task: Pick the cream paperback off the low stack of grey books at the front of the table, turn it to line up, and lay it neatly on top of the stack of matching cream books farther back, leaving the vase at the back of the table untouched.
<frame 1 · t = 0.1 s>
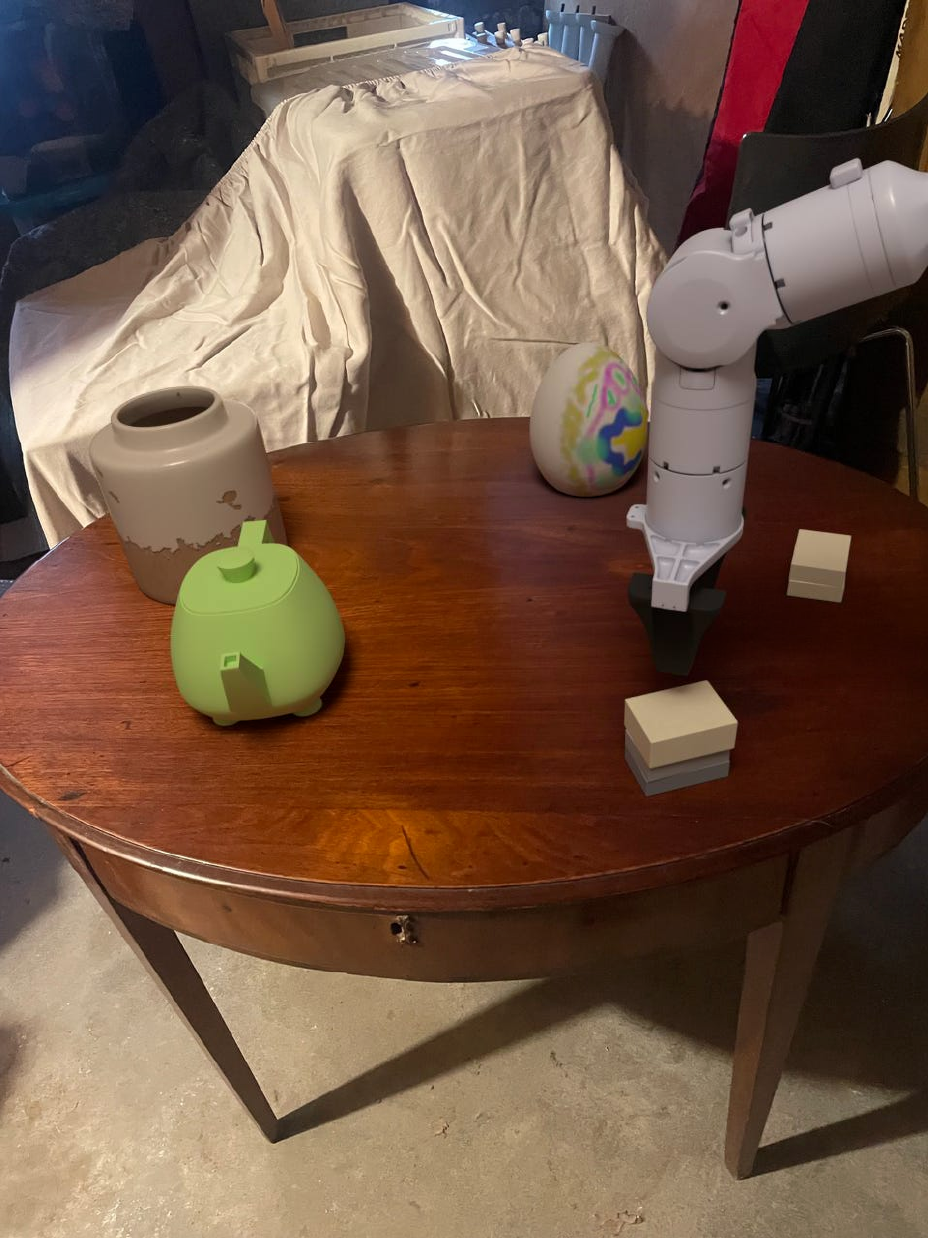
hand: (683, 635, 60), 8 cm above the table, tool pointing down, fingers open, 7 cm apart
cream books: (816, 580, 77), on the table
grey books: (675, 767, 61), on the table
decorative egg: (588, 481, 96), on the table
vase: (214, 564, 88), on the table
cream book: (678, 736, 59), point 3 cm above the table, touching grey books
teapot: (271, 687, 72), on the table
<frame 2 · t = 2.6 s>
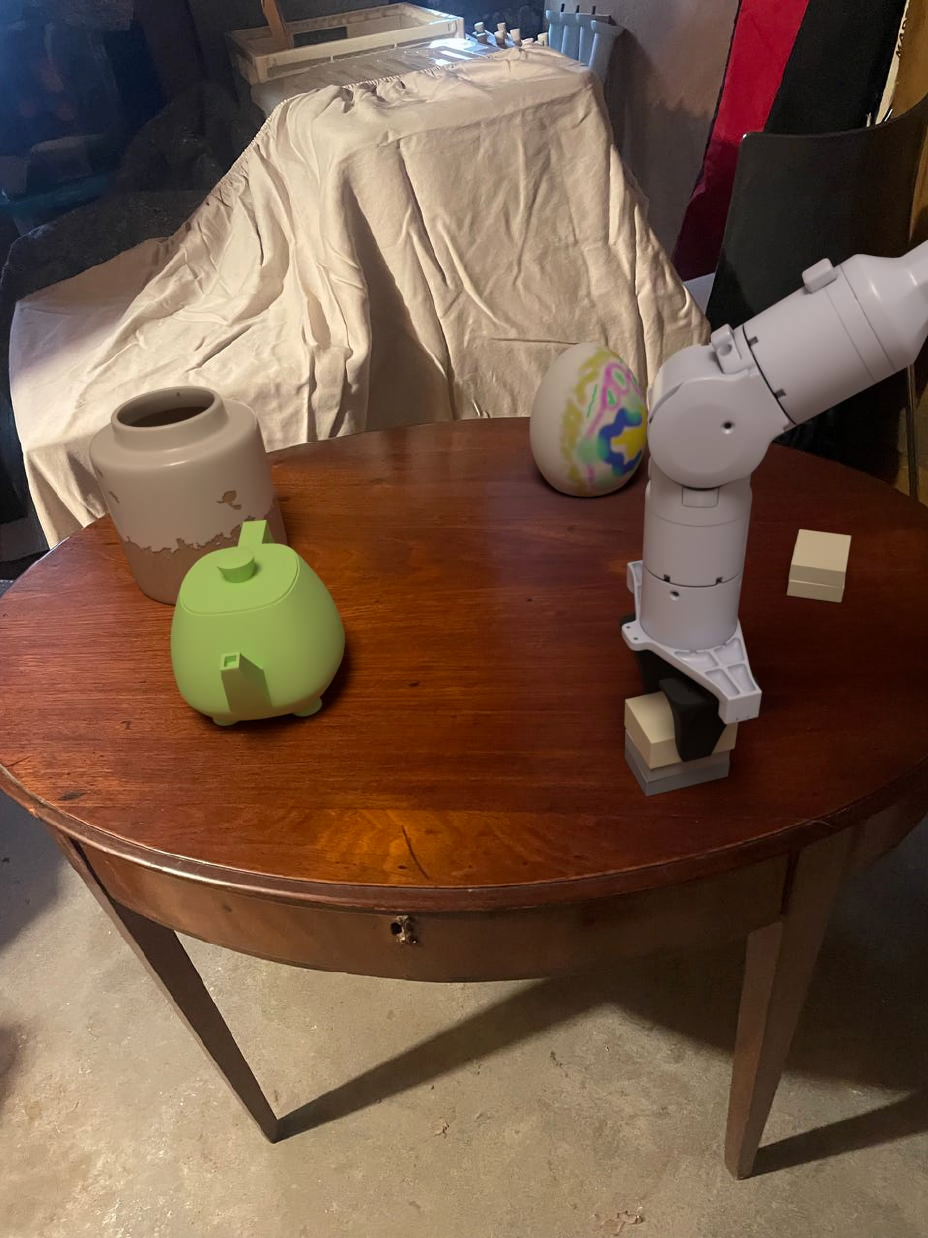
hand: (678, 729, 59), 4 cm above the table, tool pointing down, fingers closed on cream book, 4 cm apart
cream book: (678, 736, 59), point 3 cm above the table, touching grey books, gripper
everything else where it was.
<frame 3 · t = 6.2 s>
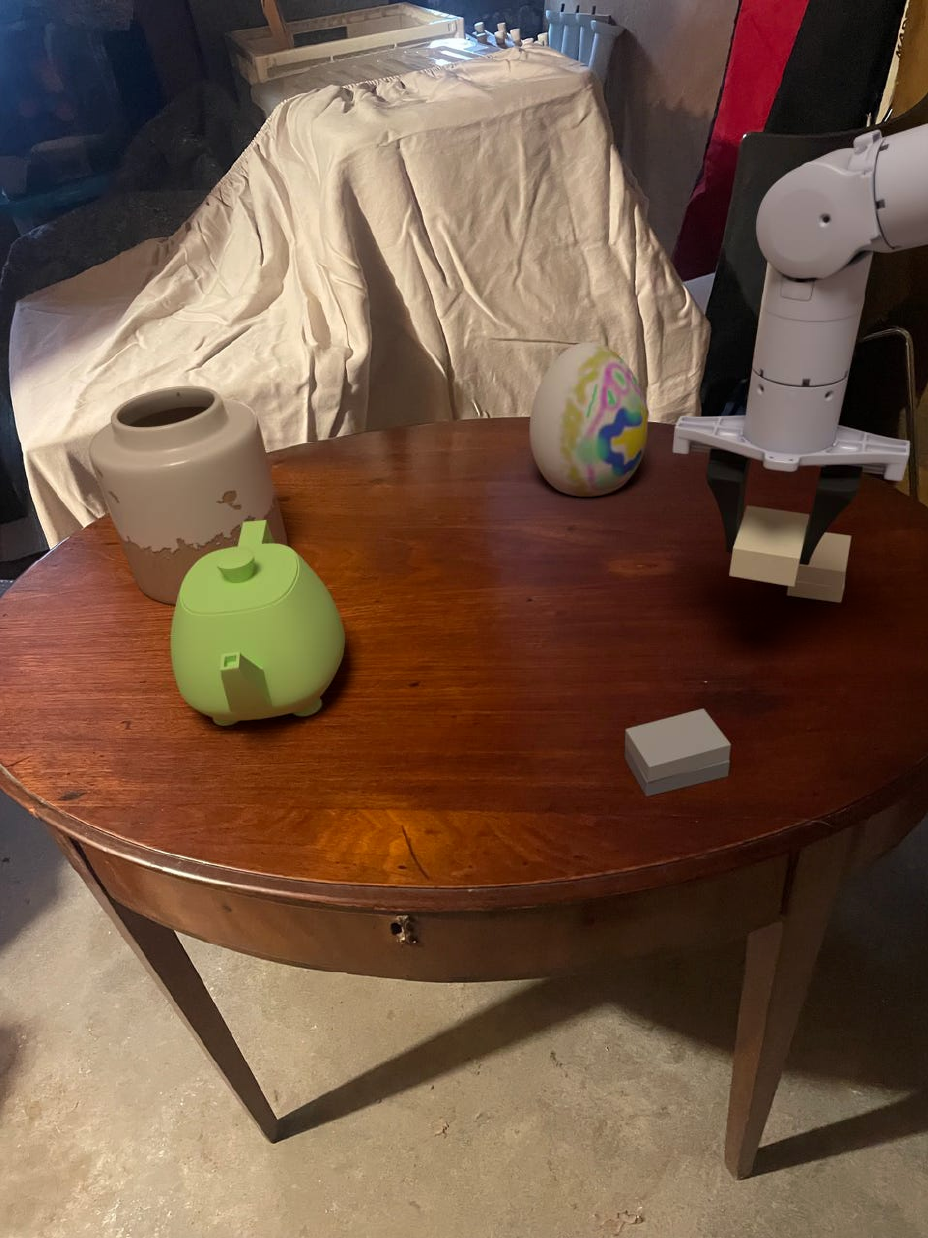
hand: (767, 551, 63), 10 cm above the table, tool pointing down, fingers closed on cream book, 4 cm apart
cream book: (767, 558, 63), point 10 cm above the table, touching gripper
everything else where it was.
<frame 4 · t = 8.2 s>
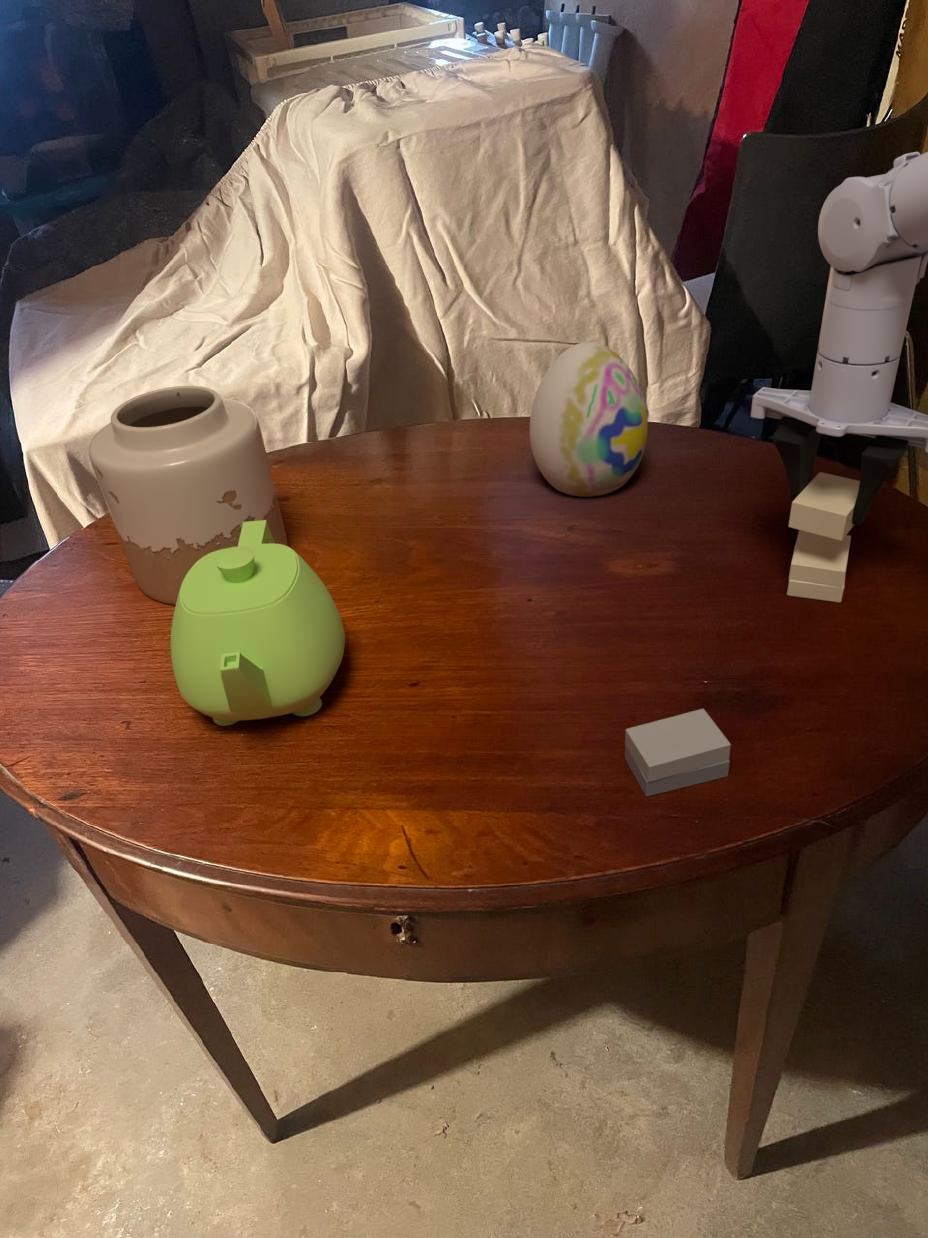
hand: (828, 511, 73), 7 cm above the table, tool pointing down, fingers closed on cream book, 4 cm apart
cream book: (827, 517, 73), point 6 cm above the table, touching gripper
everything else where it was.
when the fingers open (4 cm above the table, at t = 9.6 s): cream book stays where it is, resting on cream books.
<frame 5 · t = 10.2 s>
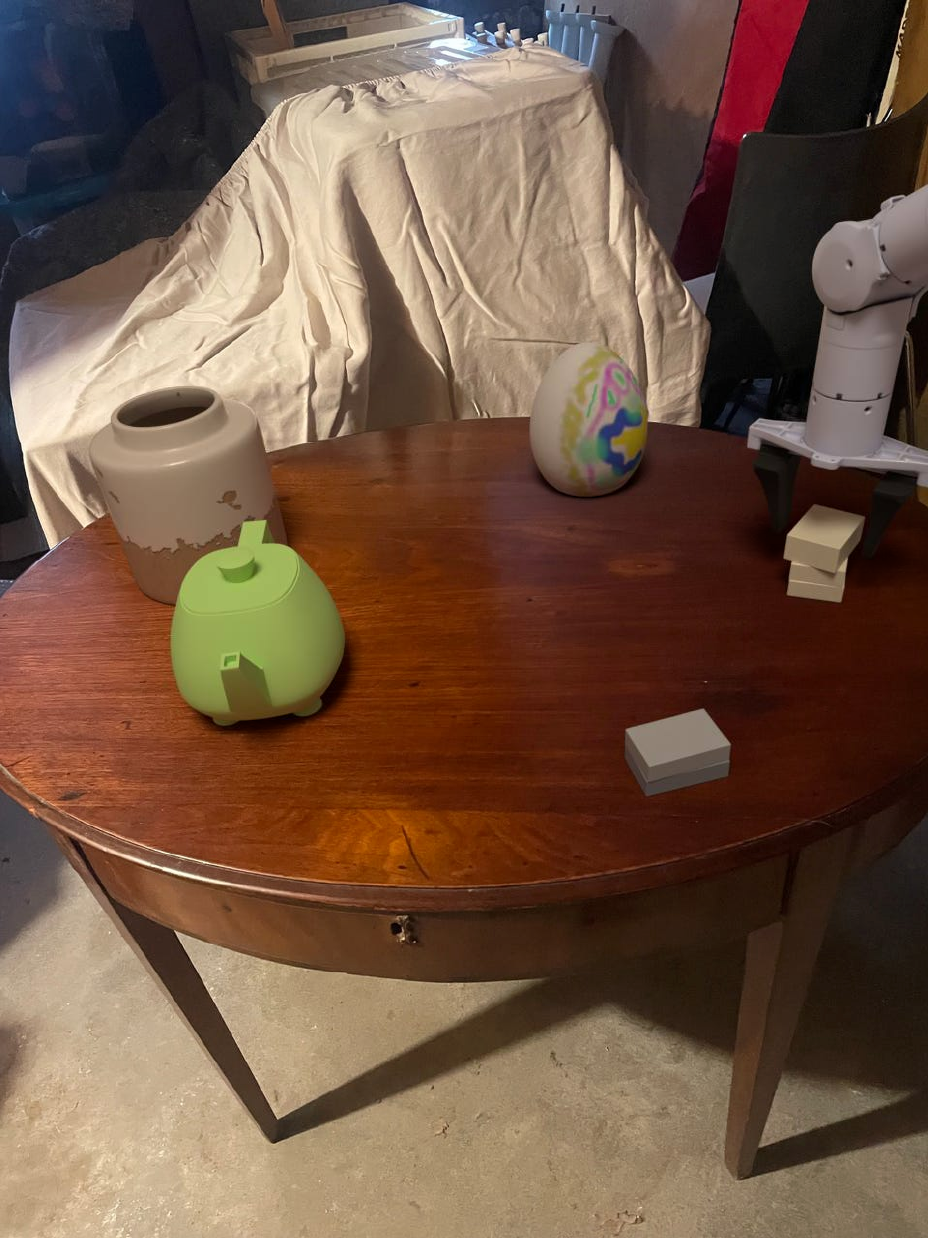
hand: (823, 539, 75), 4 cm above the table, tool pointing down, fingers open, 7 cm apart
cream book: (822, 549, 75), point 3 cm above the table, touching cream books
everything else where it was.
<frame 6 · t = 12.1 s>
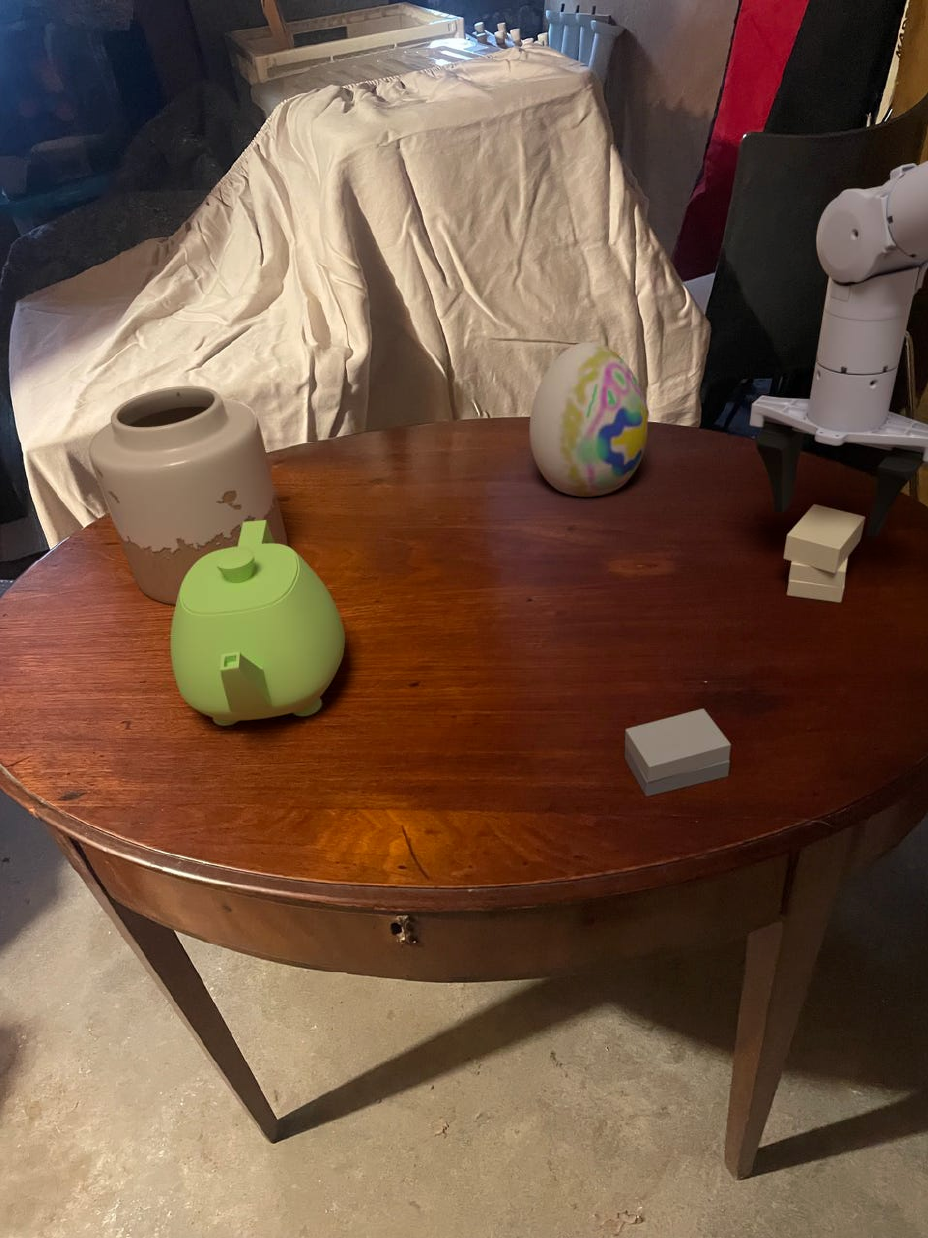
hand: (827, 519, 73), 6 cm above the table, tool pointing down, fingers open, 7 cm apart
nothing on the table moved.
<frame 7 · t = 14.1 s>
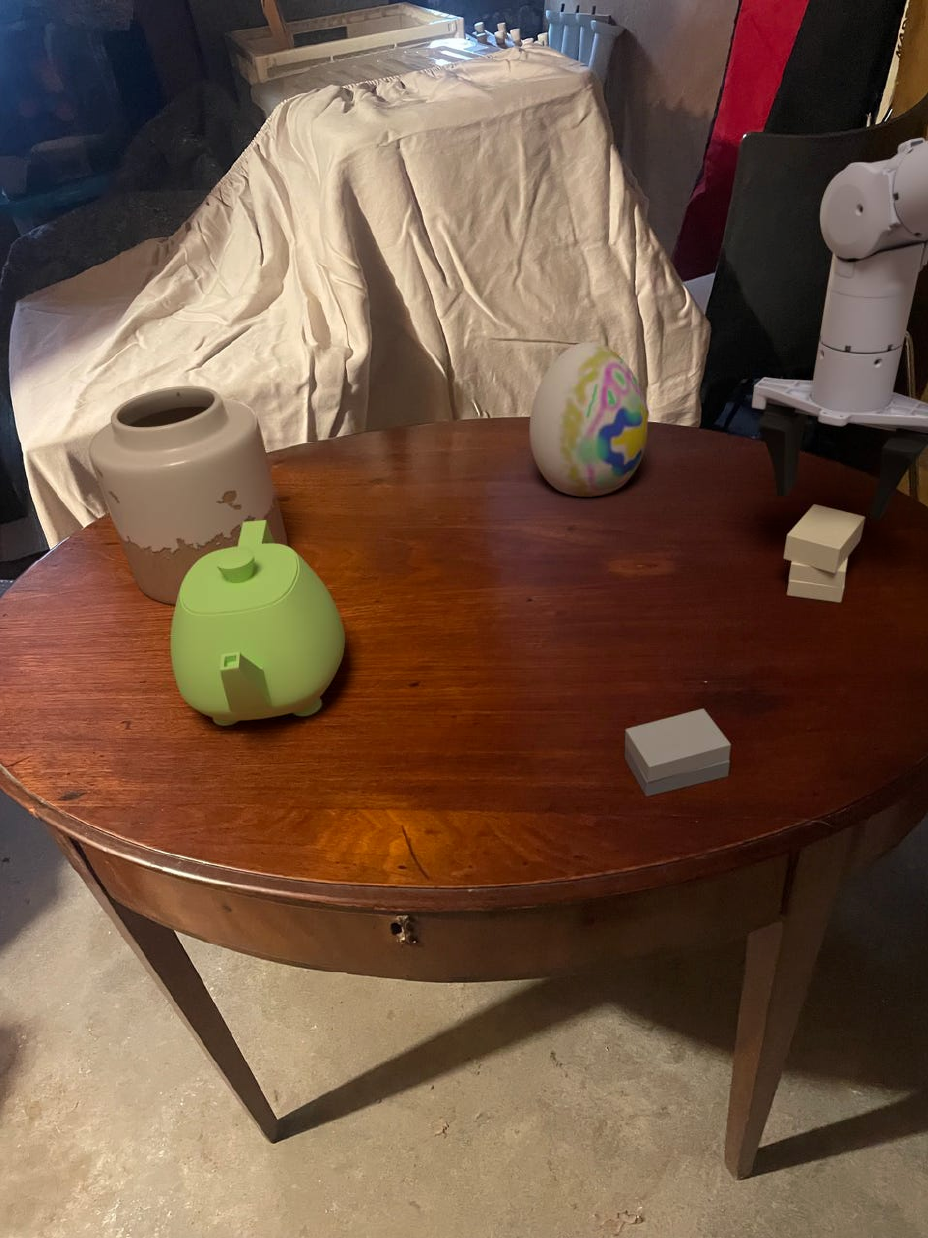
hand: (830, 502, 73), 8 cm above the table, tool pointing down, fingers open, 7 cm apart
nothing on the table moved.
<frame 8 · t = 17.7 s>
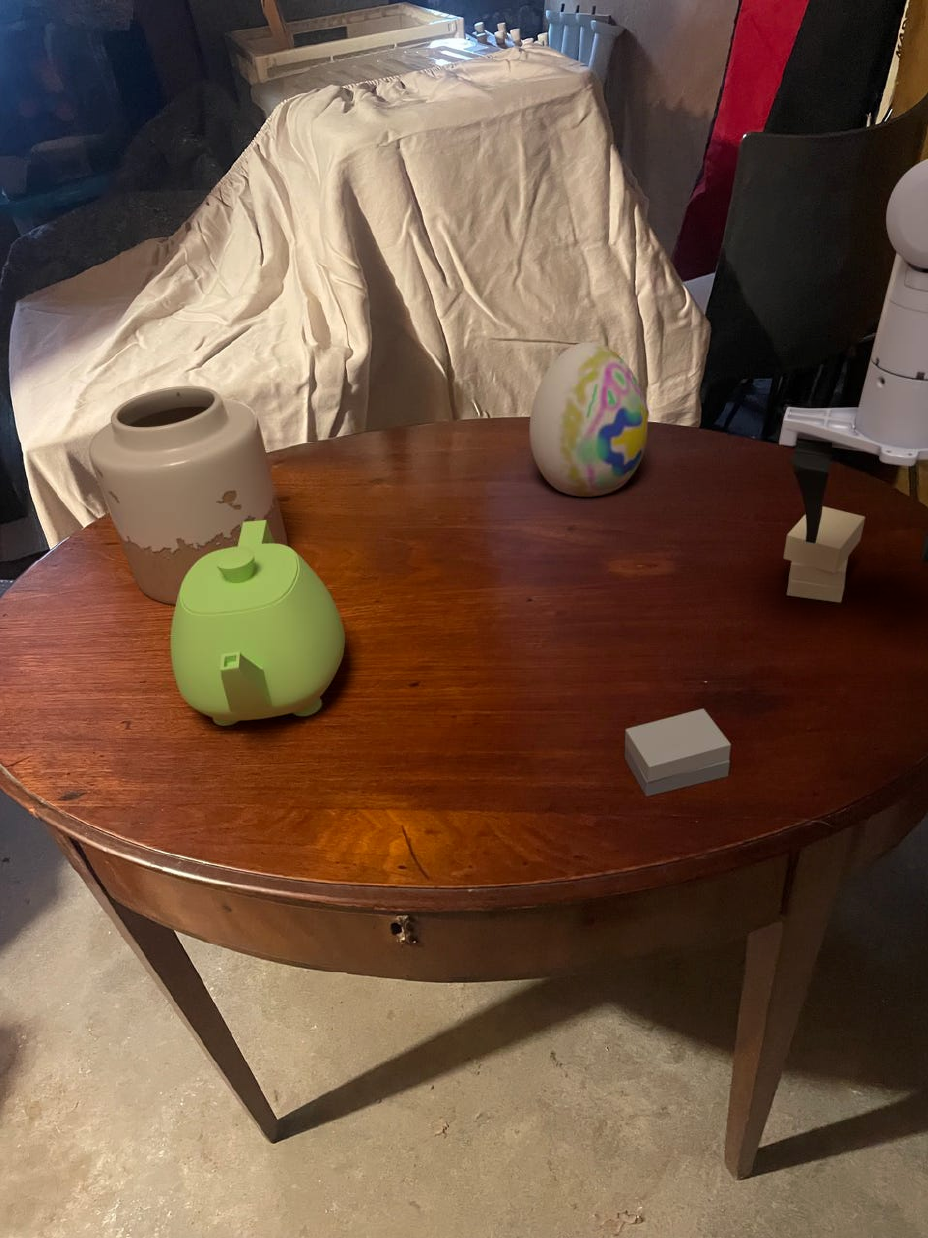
hand: (868, 545, 62), 10 cm above the table, tool pointing down, fingers open, 7 cm apart
nothing on the table moved.
at the end: cream book 0.0 cm off-centre on the cream books, point 3.2 cm above the cream books's base; cream book tilted 0°; vase moved 0.2 cm from its start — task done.
